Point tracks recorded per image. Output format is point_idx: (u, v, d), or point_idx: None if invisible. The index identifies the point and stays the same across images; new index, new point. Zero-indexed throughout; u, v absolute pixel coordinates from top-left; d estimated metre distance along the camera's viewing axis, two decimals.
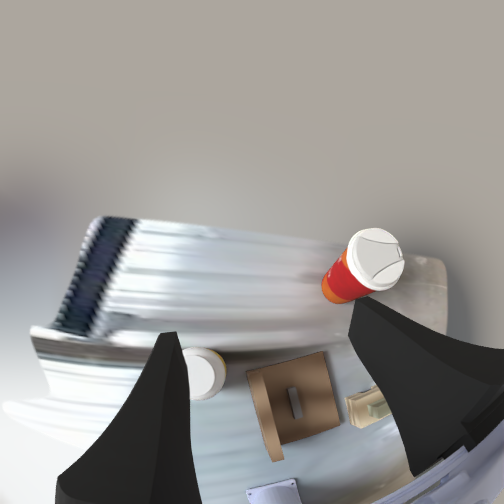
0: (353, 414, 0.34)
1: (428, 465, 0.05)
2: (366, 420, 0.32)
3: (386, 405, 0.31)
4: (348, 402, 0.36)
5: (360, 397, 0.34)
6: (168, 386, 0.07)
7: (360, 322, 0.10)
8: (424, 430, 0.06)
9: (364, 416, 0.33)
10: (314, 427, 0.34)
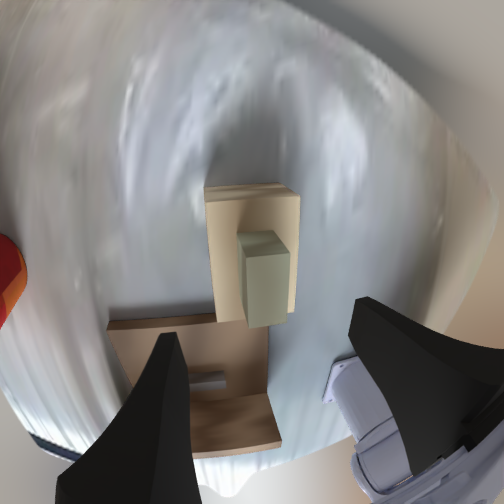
0: None
1: (428, 465, 0.05)
2: None
3: (256, 301, 0.13)
4: None
5: (214, 300, 0.17)
6: (168, 386, 0.07)
7: (360, 322, 0.10)
8: (423, 430, 0.06)
9: None
10: (253, 354, 0.22)
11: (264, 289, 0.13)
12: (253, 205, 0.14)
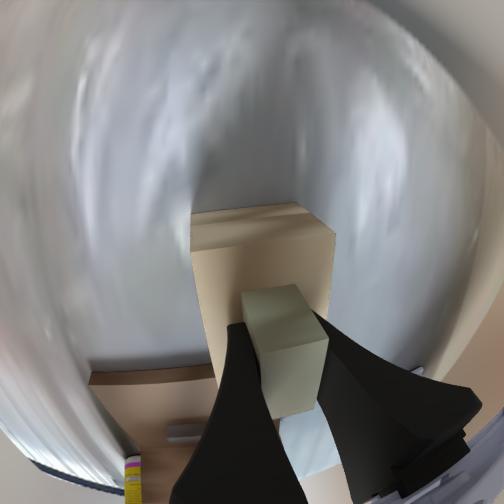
0: None
1: (365, 500, 0.05)
2: None
3: (274, 396, 0.08)
4: None
5: None
6: None
7: None
8: (359, 463, 0.06)
9: None
10: None
11: (287, 384, 0.08)
12: (266, 252, 0.09)
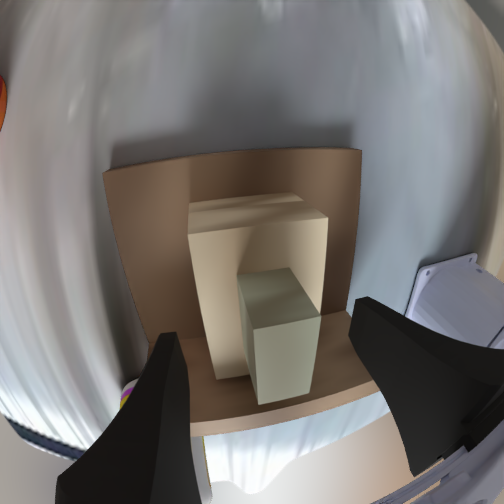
0: None
1: (428, 465, 0.05)
2: None
3: (269, 377, 0.08)
4: None
5: None
6: (168, 386, 0.07)
7: (360, 322, 0.10)
8: (423, 430, 0.06)
9: None
10: (339, 224, 0.15)
11: (281, 363, 0.08)
12: (260, 235, 0.09)
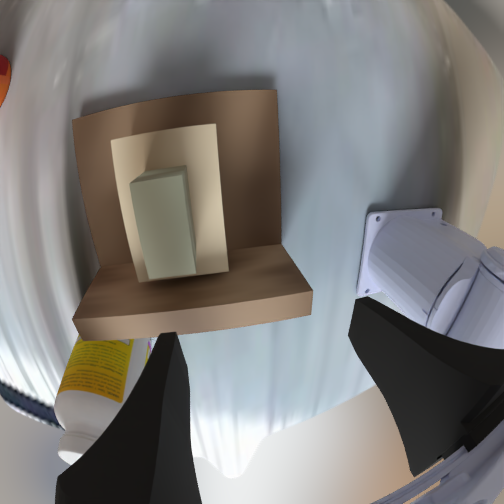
0: None
1: (428, 465, 0.05)
2: (208, 254, 0.14)
3: (150, 241, 0.10)
4: None
5: None
6: (168, 386, 0.07)
7: (360, 322, 0.10)
8: (424, 430, 0.06)
9: None
10: (259, 154, 0.16)
11: (157, 224, 0.10)
12: (160, 137, 0.11)
